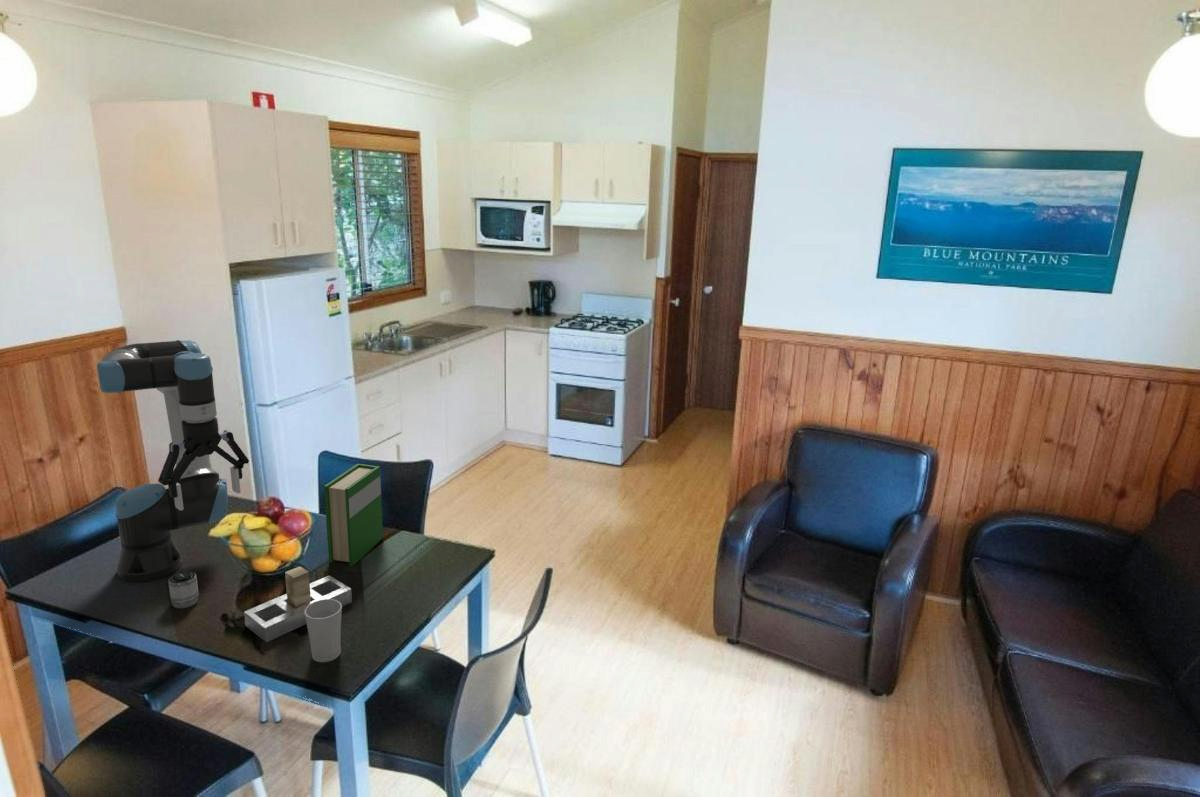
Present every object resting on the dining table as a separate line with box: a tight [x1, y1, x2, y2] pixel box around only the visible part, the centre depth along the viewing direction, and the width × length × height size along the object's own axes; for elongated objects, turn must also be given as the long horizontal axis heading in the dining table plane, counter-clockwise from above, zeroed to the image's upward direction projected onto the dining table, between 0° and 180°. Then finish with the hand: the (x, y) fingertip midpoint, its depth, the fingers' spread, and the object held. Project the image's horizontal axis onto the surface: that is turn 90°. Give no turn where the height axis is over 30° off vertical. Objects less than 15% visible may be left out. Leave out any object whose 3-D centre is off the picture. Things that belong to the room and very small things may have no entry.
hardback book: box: [323, 463, 384, 567], centre depth 207 cm, size 18×7×24 cm, turn 168°
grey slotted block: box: [243, 575, 353, 643], centre depth 178 cm, size 10×23×4 cm, turn 142°
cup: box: [305, 599, 343, 663], centre depth 162 cm, size 8×8×12 cm
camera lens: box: [167, 570, 199, 609], centre depth 179 cm, size 6×6×8 cm
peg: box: [284, 565, 311, 608], centre depth 177 cm, size 4×4×12 cm
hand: (208, 499), depth 174 cm, fingers open, 13 cm apart
